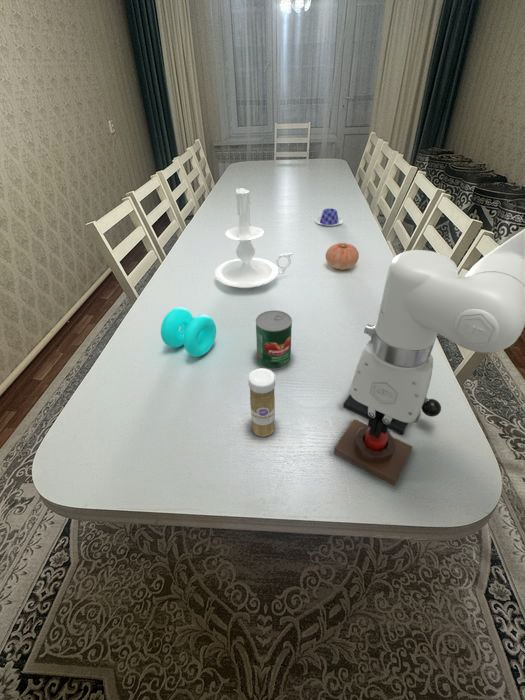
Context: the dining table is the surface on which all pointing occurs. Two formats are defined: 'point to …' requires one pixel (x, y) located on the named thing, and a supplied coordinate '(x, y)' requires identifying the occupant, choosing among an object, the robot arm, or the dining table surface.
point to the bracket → (363, 411)
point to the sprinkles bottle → (262, 401)
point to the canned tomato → (273, 339)
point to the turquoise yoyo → (188, 331)
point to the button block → (373, 453)
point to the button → (375, 441)
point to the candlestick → (247, 253)
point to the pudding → (329, 218)
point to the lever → (431, 407)
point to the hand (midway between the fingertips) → (376, 430)
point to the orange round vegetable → (342, 256)
